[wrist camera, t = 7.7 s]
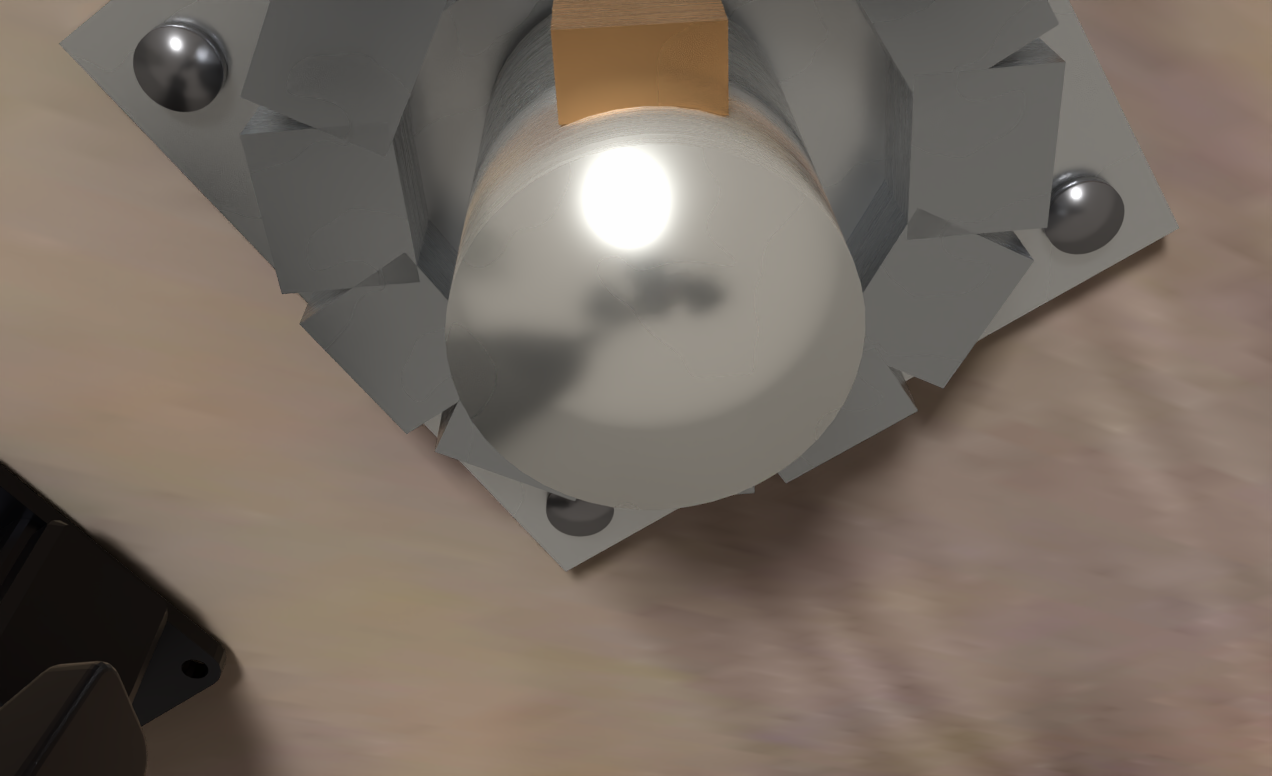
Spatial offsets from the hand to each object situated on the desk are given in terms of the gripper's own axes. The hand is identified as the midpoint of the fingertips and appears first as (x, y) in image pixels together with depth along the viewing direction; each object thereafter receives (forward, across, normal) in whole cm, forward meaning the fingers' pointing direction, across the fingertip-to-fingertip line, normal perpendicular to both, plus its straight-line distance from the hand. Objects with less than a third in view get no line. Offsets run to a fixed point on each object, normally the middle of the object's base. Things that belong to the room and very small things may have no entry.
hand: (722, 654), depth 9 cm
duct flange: (+11, 0, 0) cm, 11 cm away
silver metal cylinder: (+11, 0, 0) cm, 11 cm away
